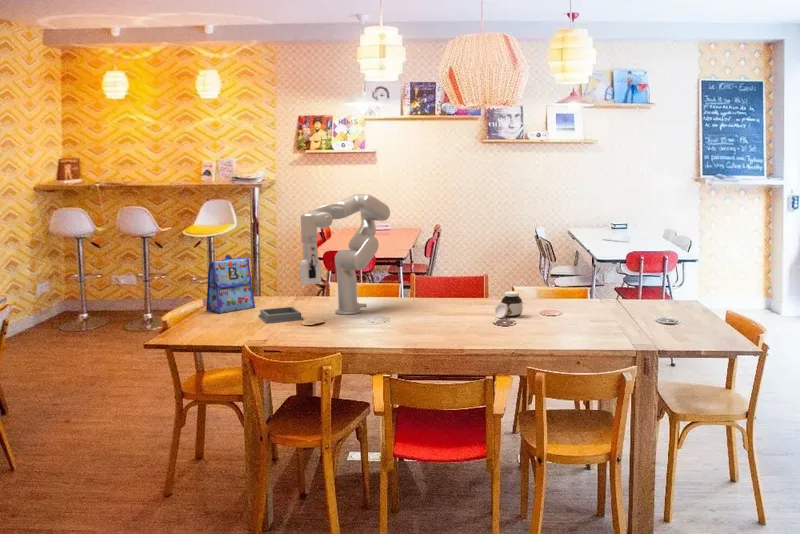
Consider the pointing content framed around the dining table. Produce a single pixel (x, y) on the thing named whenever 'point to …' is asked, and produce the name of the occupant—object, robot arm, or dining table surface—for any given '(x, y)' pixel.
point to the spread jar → (510, 305)
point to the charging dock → (280, 315)
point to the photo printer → (305, 273)
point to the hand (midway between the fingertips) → (310, 276)
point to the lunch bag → (229, 285)
